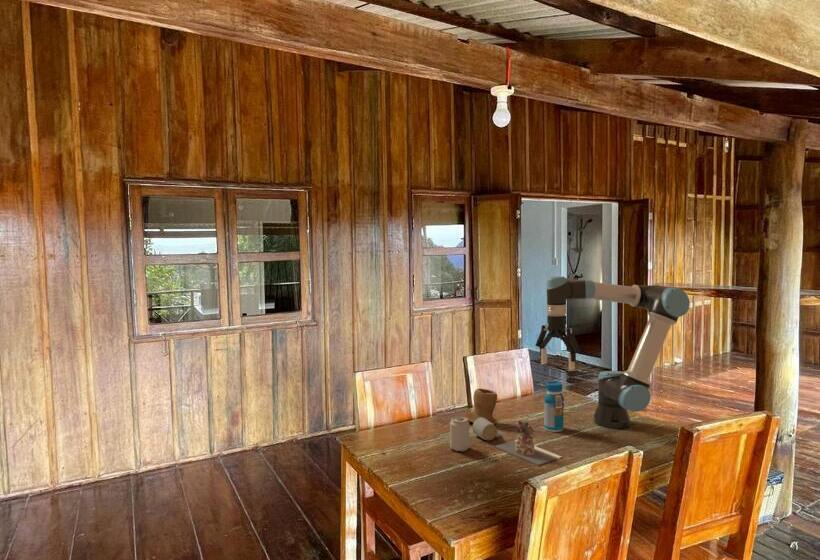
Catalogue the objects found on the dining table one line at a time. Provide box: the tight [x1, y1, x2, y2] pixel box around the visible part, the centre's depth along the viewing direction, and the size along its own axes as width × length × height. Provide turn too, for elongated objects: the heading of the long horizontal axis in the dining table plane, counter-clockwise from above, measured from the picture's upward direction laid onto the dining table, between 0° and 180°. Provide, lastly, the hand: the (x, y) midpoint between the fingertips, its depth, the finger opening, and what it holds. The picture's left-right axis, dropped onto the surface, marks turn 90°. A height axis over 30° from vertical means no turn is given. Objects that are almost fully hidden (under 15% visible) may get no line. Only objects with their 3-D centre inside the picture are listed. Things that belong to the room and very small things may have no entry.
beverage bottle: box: [543, 381, 565, 433], centre depth 229 cm, size 8×8×20 cm
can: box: [449, 416, 470, 452], centre depth 208 cm, size 8×8×12 cm
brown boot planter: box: [459, 388, 498, 425], centre depth 239 cm, size 15×12×15 cm
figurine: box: [515, 420, 535, 455], centre depth 203 cm, size 7×7×12 cm
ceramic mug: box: [472, 417, 501, 442], centre depth 220 cm, size 11×8×8 cm
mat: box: [494, 440, 558, 467], centre depth 203 cm, size 10×22×1 cm, turn 35°
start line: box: [513, 439, 562, 460], centre depth 207 cm, size 2×22×1 cm, turn 35°
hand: (557, 366), depth 218 cm, fingers open, 13 cm apart
